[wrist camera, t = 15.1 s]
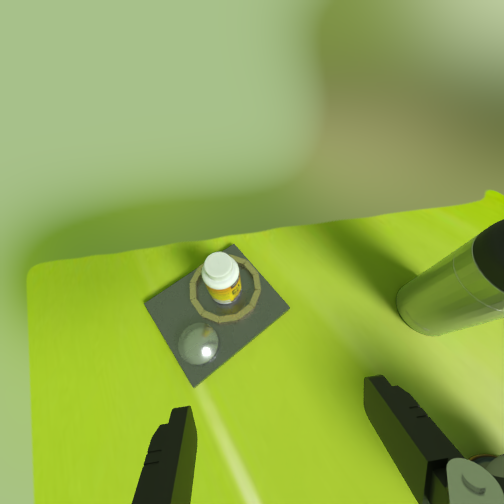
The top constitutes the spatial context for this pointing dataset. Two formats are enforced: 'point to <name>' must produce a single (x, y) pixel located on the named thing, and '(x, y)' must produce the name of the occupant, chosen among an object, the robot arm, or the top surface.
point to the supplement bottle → (222, 277)
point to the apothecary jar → (490, 463)
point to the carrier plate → (214, 318)
